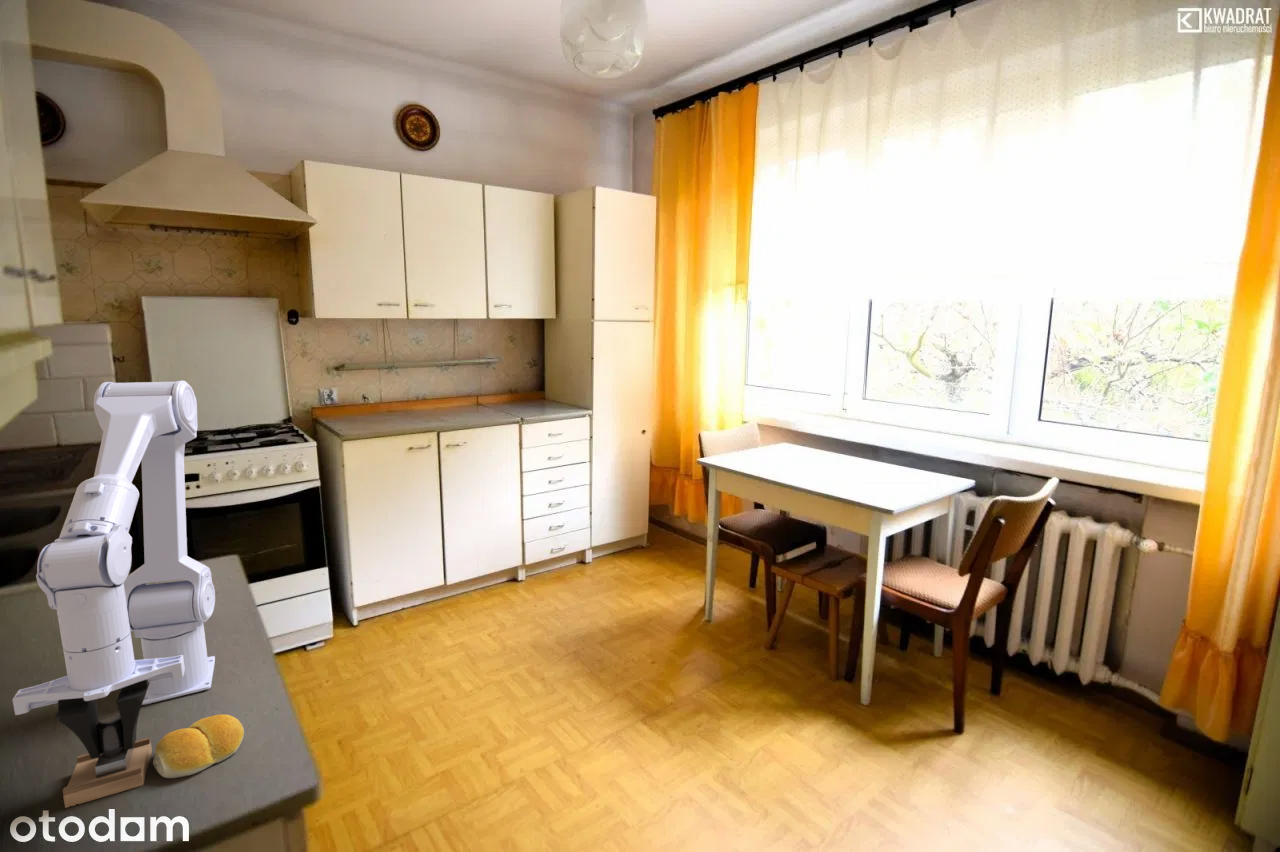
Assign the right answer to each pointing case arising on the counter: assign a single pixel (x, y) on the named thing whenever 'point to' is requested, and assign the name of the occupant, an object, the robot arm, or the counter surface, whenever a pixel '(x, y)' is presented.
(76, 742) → the counter surface
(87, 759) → the press bed
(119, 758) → the jaw
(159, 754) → the bread roll
